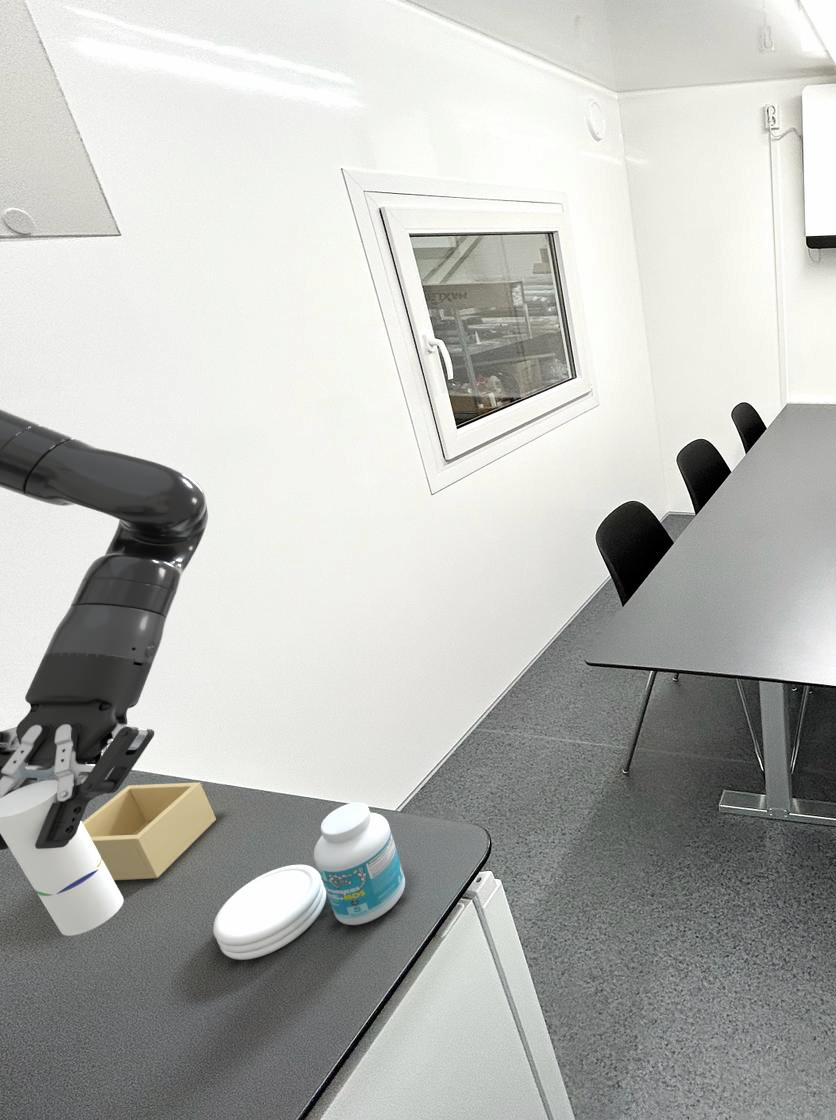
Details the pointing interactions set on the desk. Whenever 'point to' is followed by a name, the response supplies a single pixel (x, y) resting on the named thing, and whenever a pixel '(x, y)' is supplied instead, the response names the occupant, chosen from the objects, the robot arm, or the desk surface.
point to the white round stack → (269, 912)
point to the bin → (148, 827)
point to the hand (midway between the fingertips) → (22, 848)
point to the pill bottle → (358, 864)
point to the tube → (58, 862)
